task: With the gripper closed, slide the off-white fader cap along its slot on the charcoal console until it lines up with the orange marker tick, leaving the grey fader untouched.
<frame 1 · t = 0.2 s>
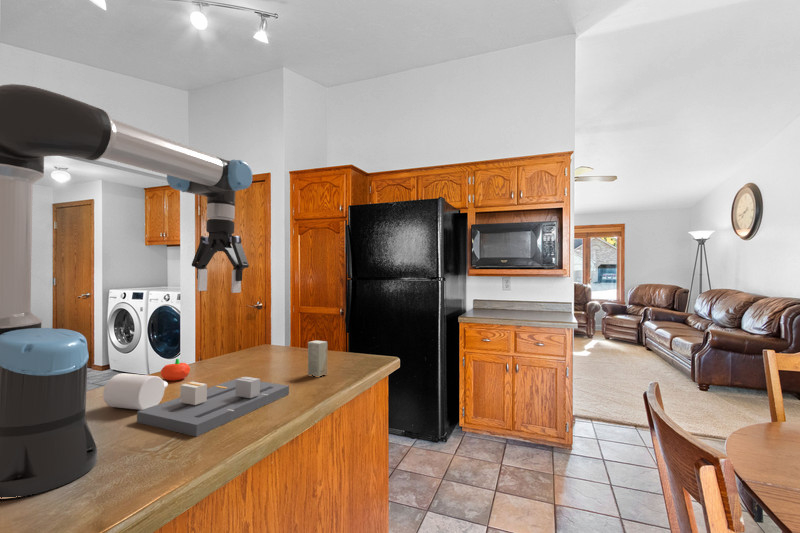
hand: (218, 291, 114), 28 cm above the worktop, fingers open, 13 cm apart
fader b: (247, 386, 97), point 5 cm above the worktop, slide at 3.0 cm
console: (221, 406, 97), on the worktop
box: (317, 375, 127), on the worktop
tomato: (175, 380, 119), on the worktop
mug: (141, 405, 97), on the worktop
fader a: (193, 392, 92), point 5 cm above the worktop, slide at -6.0 cm
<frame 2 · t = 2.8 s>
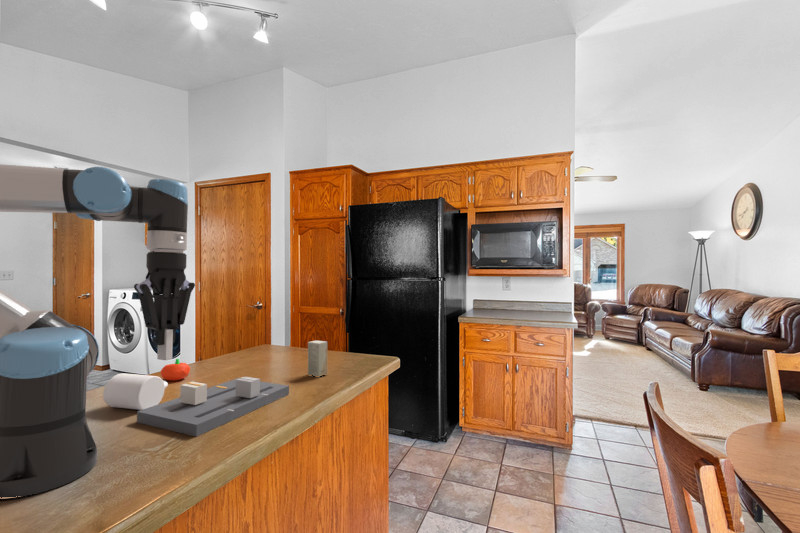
hand: (164, 359, 85), 14 cm above the worktop, fingers closed
nothing on the worktop moved.
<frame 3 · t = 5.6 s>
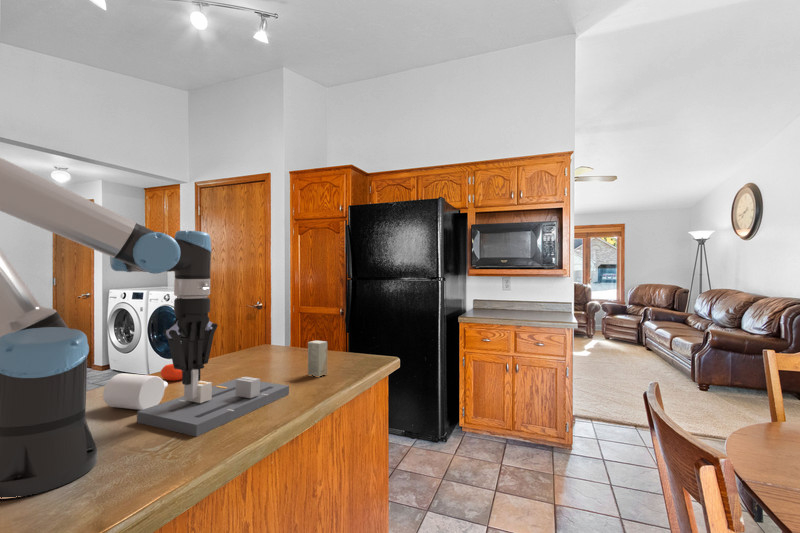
hand: (191, 396, 91), 4 cm above the worktop, fingers closed
fader a: (198, 391, 93), point 5 cm above the worktop, slide at -4.5 cm, touching gripper
everything else where it was.
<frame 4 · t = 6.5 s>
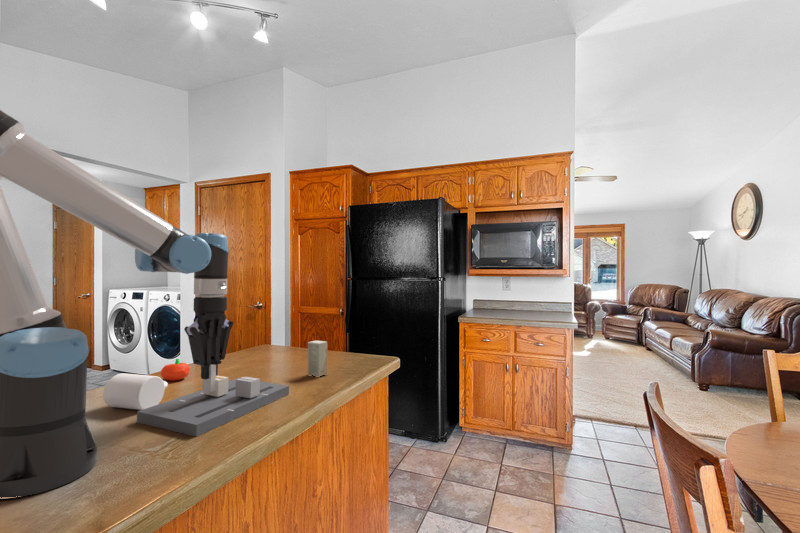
hand: (209, 390, 96), 4 cm above the worktop, fingers closed
fader a: (216, 385, 98), point 5 cm above the worktop, slide at 0.6 cm, touching gripper
everything else where it was.
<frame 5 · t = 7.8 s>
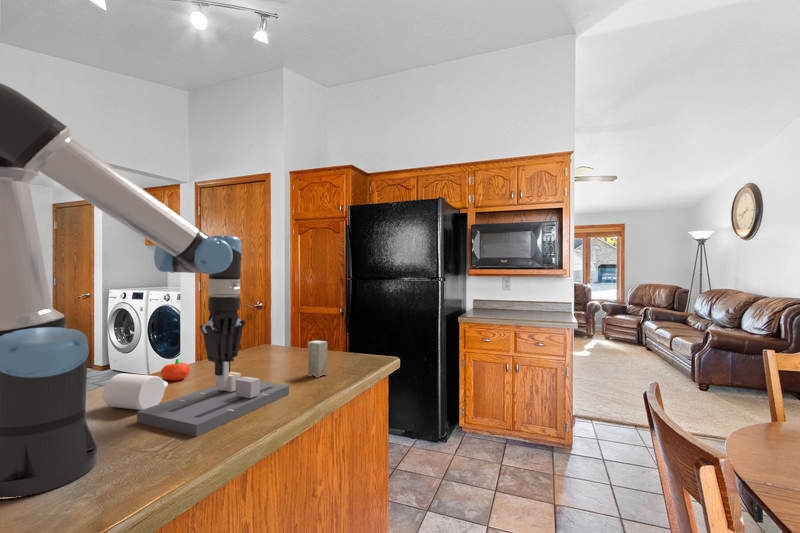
hand: (222, 386, 100), 4 cm above the worktop, fingers closed
fader a: (229, 380, 102), point 5 cm above the worktop, slide at 4.9 cm, touching gripper
everything else where it was.
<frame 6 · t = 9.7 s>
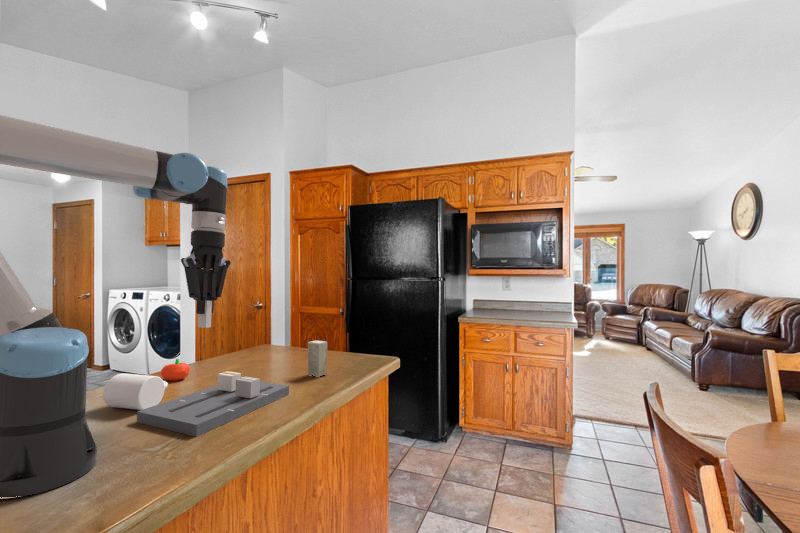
hand: (204, 327, 95), 20 cm above the worktop, fingers closed
fader a: (229, 380, 102), point 5 cm above the worktop, slide at 4.9 cm
everything else where it was.
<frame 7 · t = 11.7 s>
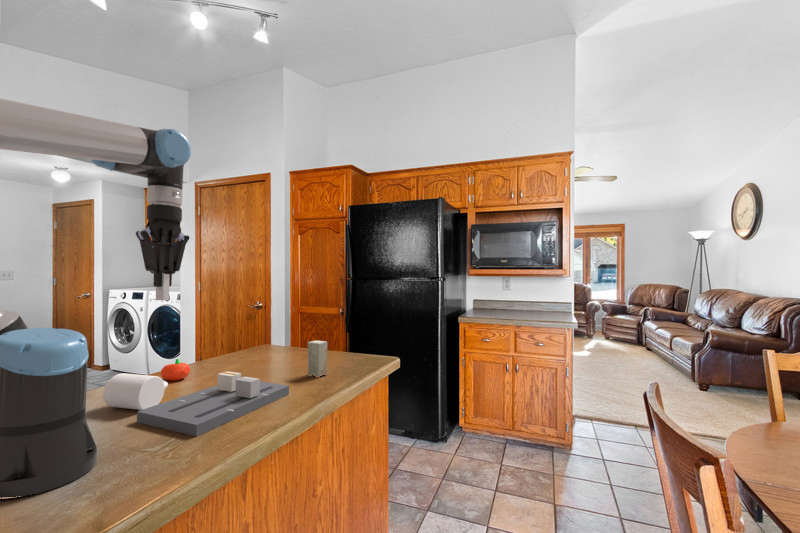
hand: (162, 299, 96), 26 cm above the worktop, fingers closed
nothing on the worktop moved.
at the end: fader a slide at 4.9 cm; fader b slide at 3.0 cm; fader a touching nothing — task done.
